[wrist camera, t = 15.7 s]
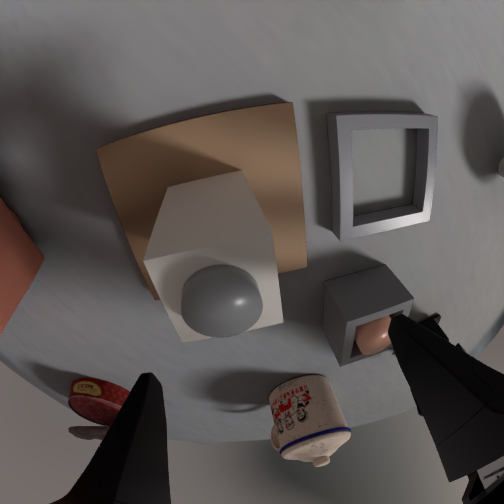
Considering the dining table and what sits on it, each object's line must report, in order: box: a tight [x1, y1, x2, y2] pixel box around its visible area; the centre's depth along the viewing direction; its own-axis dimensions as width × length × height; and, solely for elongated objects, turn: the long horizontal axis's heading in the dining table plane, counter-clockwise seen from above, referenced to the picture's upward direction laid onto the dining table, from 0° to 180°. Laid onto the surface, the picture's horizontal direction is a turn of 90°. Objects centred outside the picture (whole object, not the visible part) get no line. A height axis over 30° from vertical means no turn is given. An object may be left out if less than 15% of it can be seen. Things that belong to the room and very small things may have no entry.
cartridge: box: [143, 170, 283, 343], centre depth 13 cm, size 5×5×9 cm
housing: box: [323, 264, 414, 367], centre depth 23 cm, size 6×6×5 cm
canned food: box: [68, 378, 130, 440], centre depth 27 cm, size 11×10×10 cm
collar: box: [326, 112, 438, 241], centre depth 18 cm, size 9×9×2 cm
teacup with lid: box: [269, 375, 351, 467], centre depth 29 cm, size 12×9×12 cm
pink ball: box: [354, 315, 391, 355], centre depth 22 cm, size 4×4×4 cm
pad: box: [96, 102, 307, 300], centre depth 18 cm, size 12×12×1 cm
